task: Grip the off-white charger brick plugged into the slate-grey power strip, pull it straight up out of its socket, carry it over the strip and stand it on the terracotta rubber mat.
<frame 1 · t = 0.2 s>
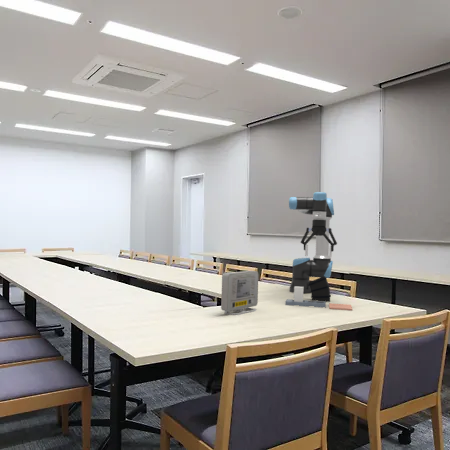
hand: (318, 256, 243), 27 cm above the table, fingers open, 13 cm apart
power strip: (305, 305, 242), on the table
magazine: (318, 300, 260), on the table
mat: (340, 307, 238), on the table
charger: (298, 304, 243), resting in power strip
network device: (240, 312, 217), on the table
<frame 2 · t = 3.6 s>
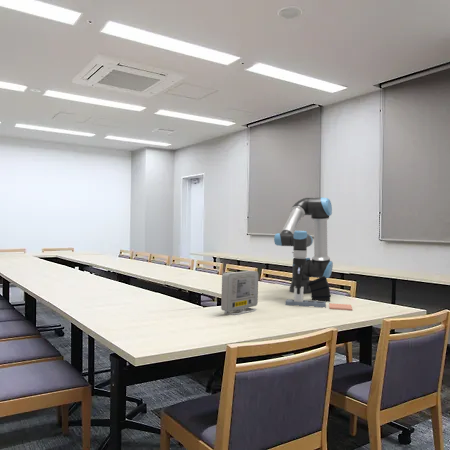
hand: (298, 298, 243), 3 cm above the table, fingers closed on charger, 4 cm apart
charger: (298, 304, 243), resting in power strip, touching gripper
everything else where it was.
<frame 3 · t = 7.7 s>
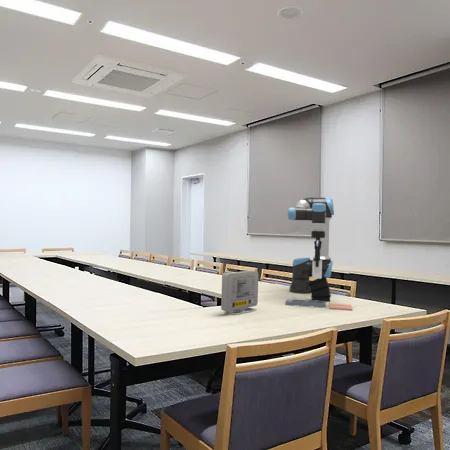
hand: (317, 272, 241), 19 cm above the table, fingers closed on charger, 4 cm apart
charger: (316, 278, 241), point 16 cm above the table, touching gripper
everything else where it was.
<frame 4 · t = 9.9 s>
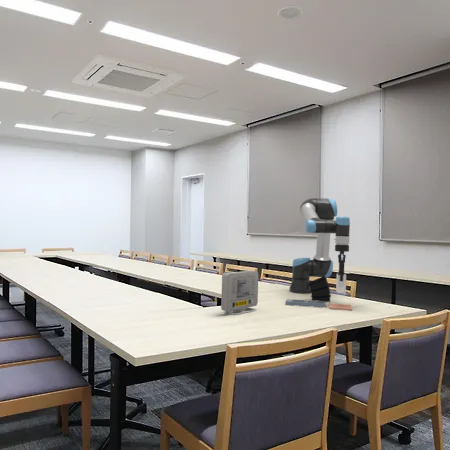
hand: (341, 286, 238), 12 cm above the table, fingers closed on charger, 4 cm apart
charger: (340, 292, 238), point 9 cm above the table, touching gripper
everything else where it was.
when the fingers open (5 cm above the table, at t = 11.7 s): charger drops 1 cm, resting on mat.
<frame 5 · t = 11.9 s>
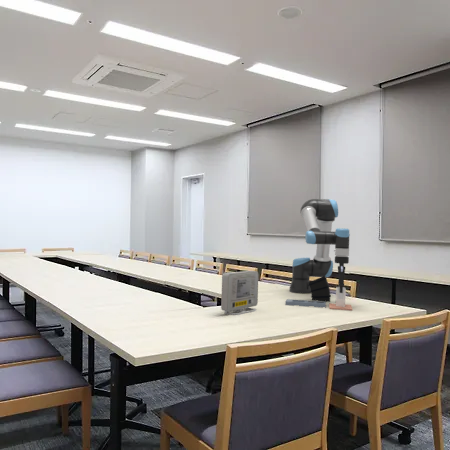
hand: (340, 297, 238), 5 cm above the table, fingers open, 6 cm apart
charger: (340, 306, 238), point 1 cm above the table, touching mat
everything else where it was.
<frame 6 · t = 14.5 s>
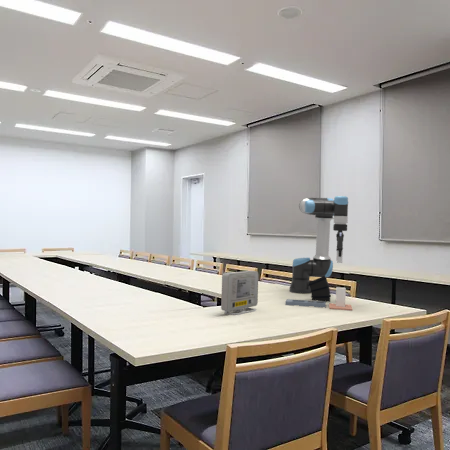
hand: (339, 261, 240), 25 cm above the table, fingers open, 13 cm apart
nothing on the table moved.
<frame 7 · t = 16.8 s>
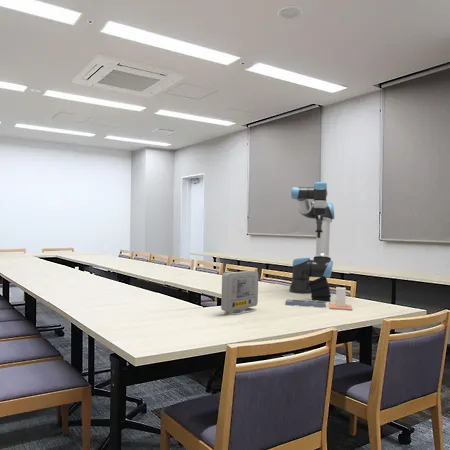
hand: (318, 243, 258), 35 cm above the table, fingers open, 13 cm apart
nothing on the table moved.
at the end: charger inside the target area on the mat (0.0 cm from its centre), point 0.8 cm above the mat's base; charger tilted 0°; the gripper is holding nothing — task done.
